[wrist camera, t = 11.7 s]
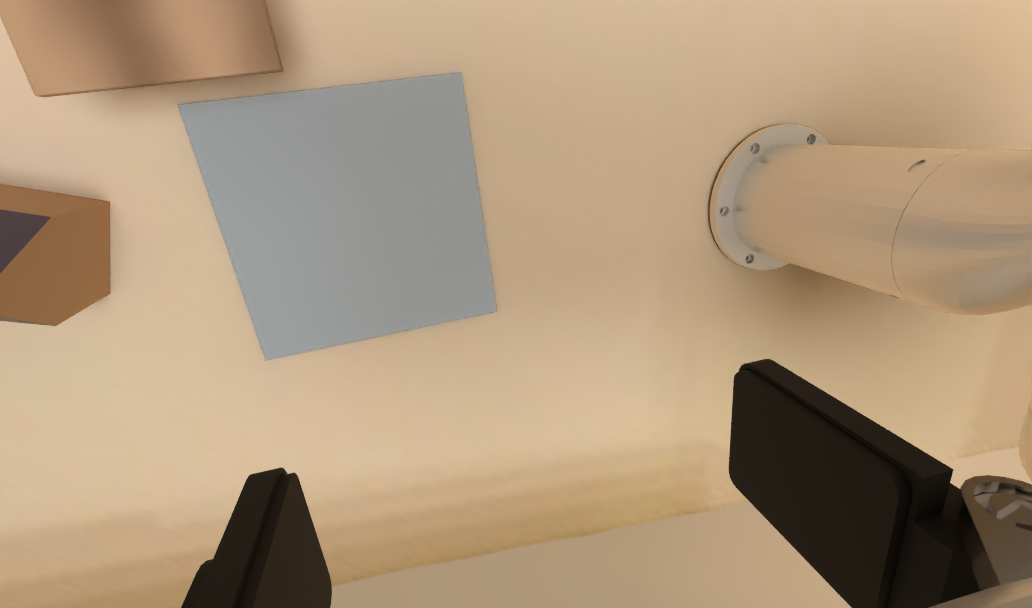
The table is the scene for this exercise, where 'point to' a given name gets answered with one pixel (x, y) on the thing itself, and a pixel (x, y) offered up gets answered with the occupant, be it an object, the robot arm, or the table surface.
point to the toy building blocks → (51, 255)
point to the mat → (347, 208)
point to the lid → (137, 42)
